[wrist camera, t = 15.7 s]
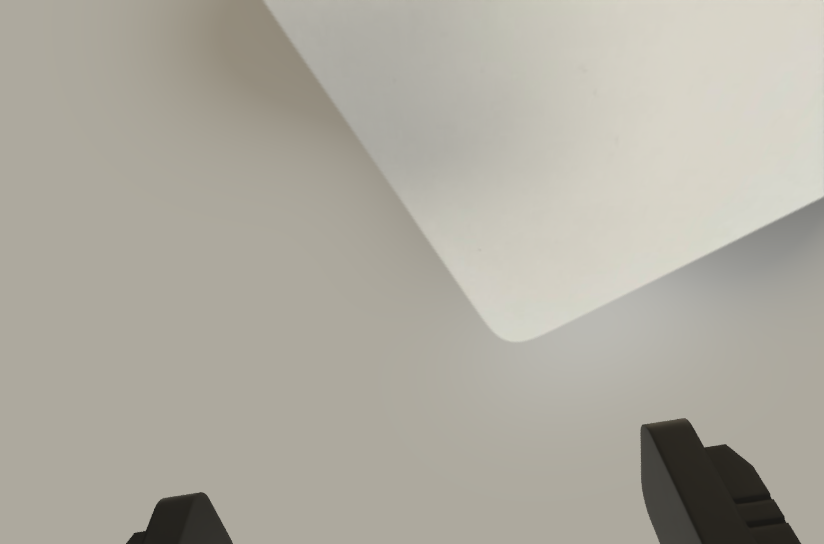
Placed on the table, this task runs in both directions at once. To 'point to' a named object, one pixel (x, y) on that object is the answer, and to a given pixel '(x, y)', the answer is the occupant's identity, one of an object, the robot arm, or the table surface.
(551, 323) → the table surface
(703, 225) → the table surface
